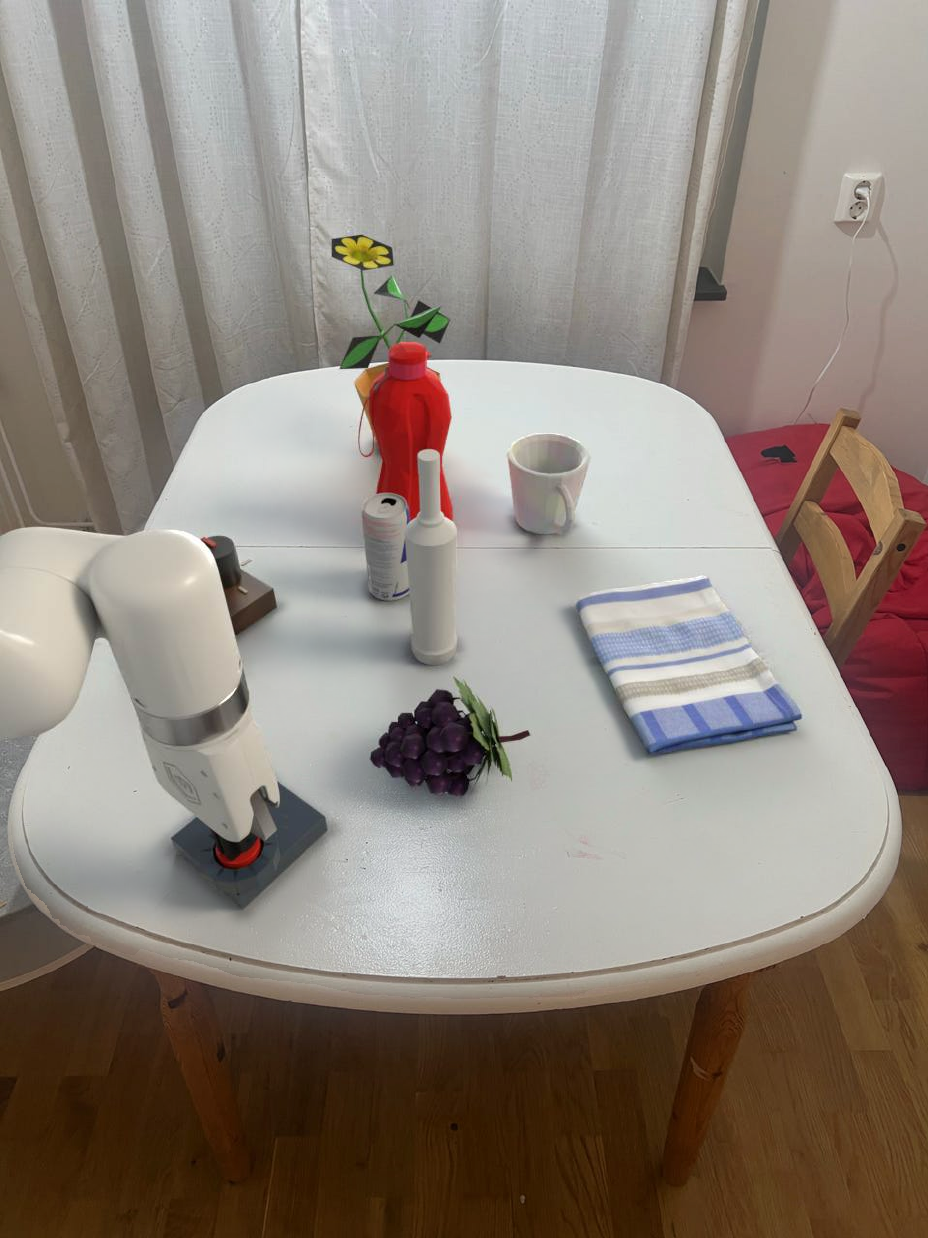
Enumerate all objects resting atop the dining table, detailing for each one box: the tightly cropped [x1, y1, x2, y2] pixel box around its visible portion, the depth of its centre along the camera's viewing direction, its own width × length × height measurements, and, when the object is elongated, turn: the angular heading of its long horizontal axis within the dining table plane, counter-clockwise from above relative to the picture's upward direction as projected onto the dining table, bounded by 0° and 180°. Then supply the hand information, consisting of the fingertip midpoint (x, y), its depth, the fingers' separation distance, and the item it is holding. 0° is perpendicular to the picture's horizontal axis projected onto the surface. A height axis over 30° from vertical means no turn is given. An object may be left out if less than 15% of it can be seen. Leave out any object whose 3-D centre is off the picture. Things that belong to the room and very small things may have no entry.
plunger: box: [216, 838, 262, 870], centre depth 72 cm, size 4×4×2 cm
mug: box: [506, 432, 591, 536], centre depth 109 cm, size 10×15×10 cm
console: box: [223, 558, 278, 637], centre depth 98 cm, size 14×10×3 cm
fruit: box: [369, 675, 531, 799], centre depth 79 cm, size 10×11×15 cm
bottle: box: [405, 449, 458, 666], centre depth 86 cm, size 5×5×25 cm
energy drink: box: [361, 493, 410, 602], centre depth 99 cm, size 5×5×12 cm
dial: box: [200, 535, 242, 589], centre depth 98 cm, size 4×4×5 cm
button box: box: [170, 780, 328, 910], centre depth 75 cm, size 11×10×4 cm
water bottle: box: [357, 341, 454, 522], centre depth 103 cm, size 9×11×25 cm
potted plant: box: [331, 234, 451, 446], centre depth 117 cm, size 18×19×30 cm
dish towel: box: [575, 574, 803, 755], centre depth 92 cm, size 17×24×3 cm
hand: (239, 844), depth 71 cm, fingers closed
